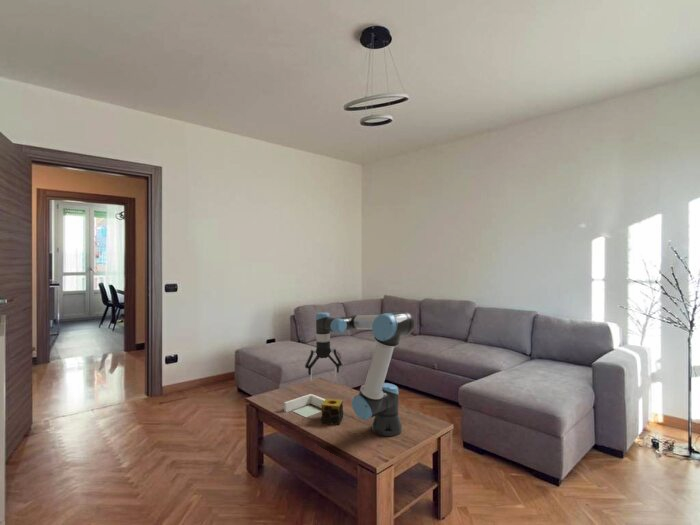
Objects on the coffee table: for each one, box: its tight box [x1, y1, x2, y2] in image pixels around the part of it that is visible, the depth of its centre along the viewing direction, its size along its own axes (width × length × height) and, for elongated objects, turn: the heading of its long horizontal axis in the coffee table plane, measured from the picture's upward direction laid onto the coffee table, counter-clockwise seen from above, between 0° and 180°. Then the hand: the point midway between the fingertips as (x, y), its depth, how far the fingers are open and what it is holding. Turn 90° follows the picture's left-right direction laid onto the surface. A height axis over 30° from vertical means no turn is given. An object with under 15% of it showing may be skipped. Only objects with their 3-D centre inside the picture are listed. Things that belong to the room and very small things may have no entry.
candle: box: [320, 398, 344, 426], centre depth 206 cm, size 10×10×10 cm
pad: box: [292, 405, 322, 418], centre depth 218 cm, size 12×12×1 cm
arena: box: [283, 393, 326, 413], centre depth 219 cm, size 18×20×5 cm
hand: (323, 379), depth 210 cm, fingers open, 13 cm apart
